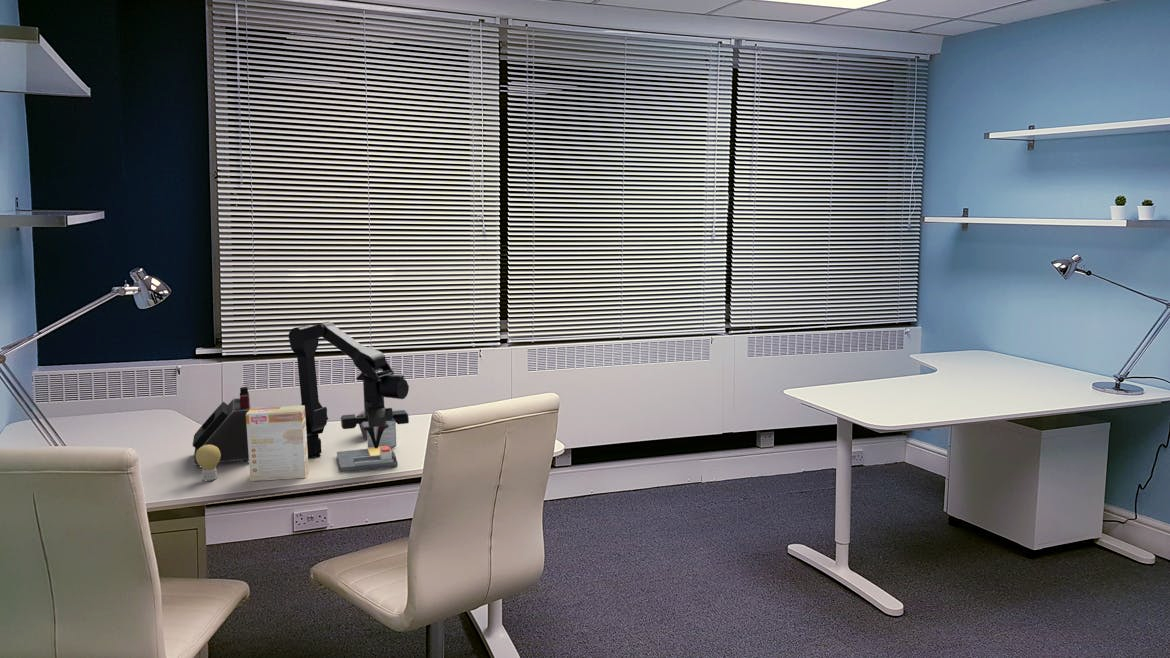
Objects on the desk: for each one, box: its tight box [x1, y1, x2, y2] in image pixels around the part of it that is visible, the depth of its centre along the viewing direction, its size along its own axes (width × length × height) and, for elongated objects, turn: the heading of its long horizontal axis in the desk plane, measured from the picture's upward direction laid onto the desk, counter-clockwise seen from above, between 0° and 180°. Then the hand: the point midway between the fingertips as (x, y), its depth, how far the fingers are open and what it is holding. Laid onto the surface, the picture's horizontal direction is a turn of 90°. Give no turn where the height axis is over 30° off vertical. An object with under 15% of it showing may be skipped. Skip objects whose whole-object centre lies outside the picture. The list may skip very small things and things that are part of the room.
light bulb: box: [196, 445, 221, 481], centre depth 253 cm, size 6×6×10 cm
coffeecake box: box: [246, 405, 310, 482], centre depth 255 cm, size 15×7×20 cm, turn 99°
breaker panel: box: [336, 447, 399, 473], centre depth 269 cm, size 16×16×3 cm
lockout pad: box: [366, 446, 384, 456], centre depth 273 cm, size 6×10×1 cm, turn 19°
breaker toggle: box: [380, 446, 392, 460], centre depth 266 cm, size 3×4×4 cm
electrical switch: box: [356, 410, 367, 439], centre depth 296 cm, size 9×5×9 cm, turn 174°
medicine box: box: [366, 421, 397, 448], centre depth 282 cm, size 8×4×9 cm, turn 133°
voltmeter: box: [192, 386, 252, 467], centre depth 271 cm, size 16×16×20 cm
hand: (376, 448), depth 264 cm, fingers closed
